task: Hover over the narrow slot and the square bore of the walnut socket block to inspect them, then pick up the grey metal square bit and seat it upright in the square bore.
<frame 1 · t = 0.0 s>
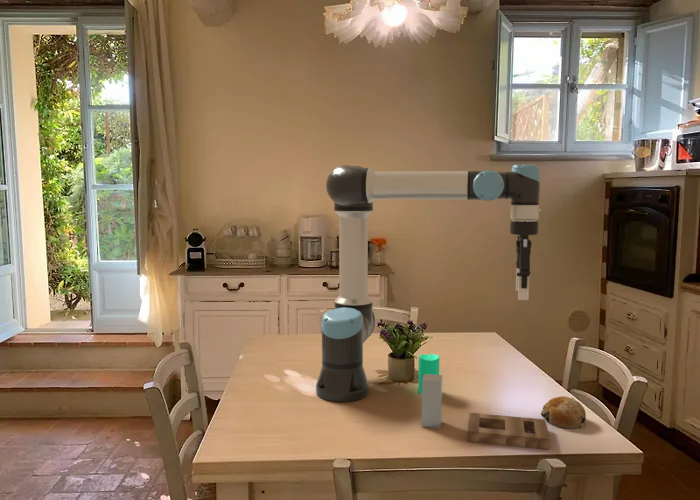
hand: (521, 295, 160), 28 cm above the table, fingers open, 13 cm apart
candle: (428, 392, 162), on the table
socket block: (507, 435, 134), on the table
square bit: (431, 424, 140), on the table
bread roll: (562, 422, 142), on the table
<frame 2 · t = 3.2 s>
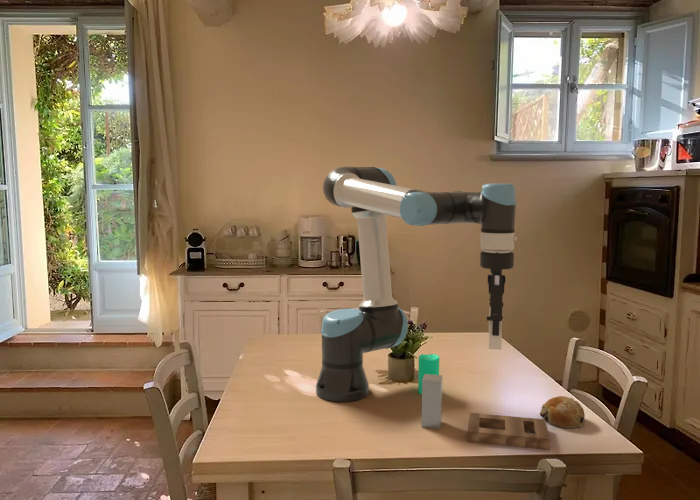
hand: (494, 340, 132), 23 cm above the table, fingers open, 13 cm apart
nothing on the table moved.
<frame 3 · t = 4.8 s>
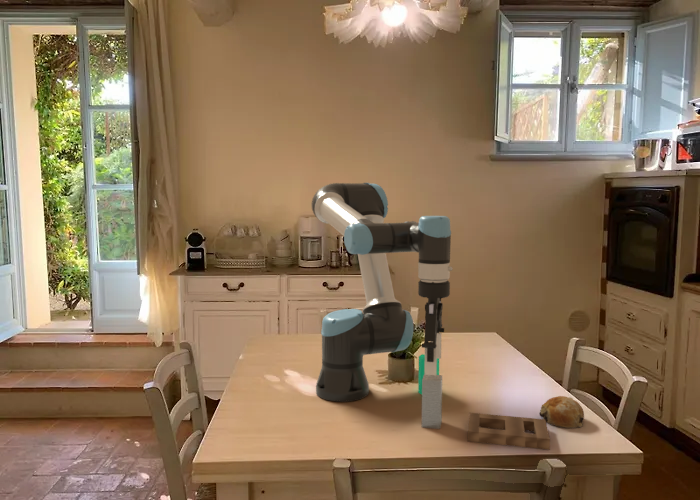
hand: (433, 365, 138), 15 cm above the table, fingers open, 13 cm apart
nothing on the table moved.
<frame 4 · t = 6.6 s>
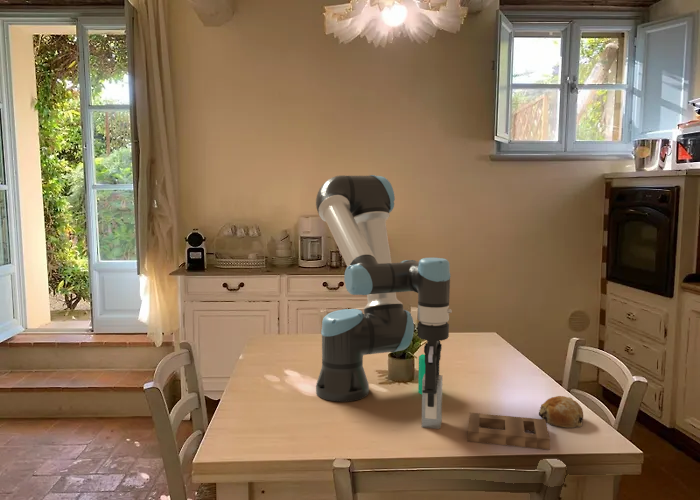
hand: (431, 413, 140), 3 cm above the table, fingers closed on square bit, 4 cm apart
square bit: (431, 424, 140), on the table, touching gripper
everything else where it was.
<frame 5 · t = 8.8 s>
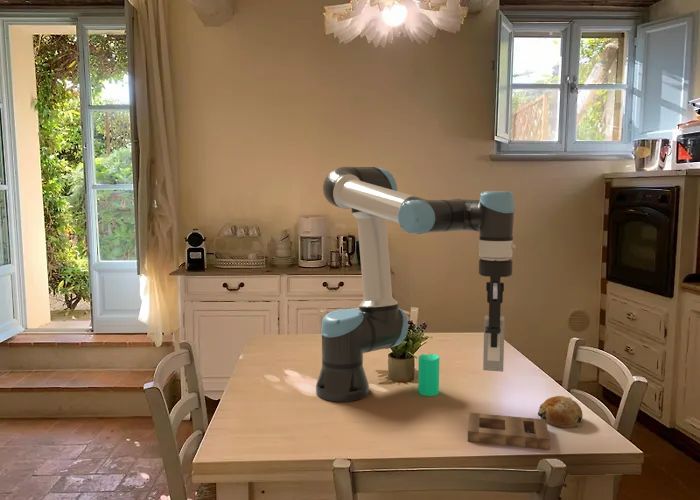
hand: (493, 356, 132), 19 cm above the table, fingers closed on square bit, 4 cm apart
square bit: (493, 367, 133), point 16 cm above the table, touching gripper
everything else where it was.
when the fingers open (4 cm above the table, at t = 11.2 s): square bit drops 2 cm, resting in socket block.
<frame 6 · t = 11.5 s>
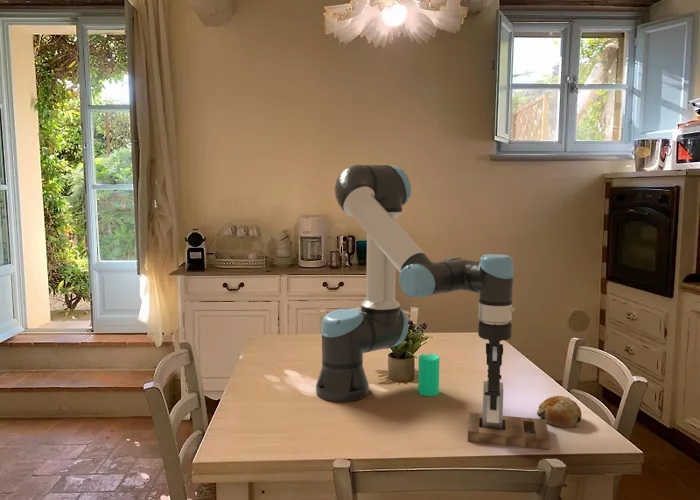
hand: (492, 413, 134), 5 cm above the table, fingers open, 9 cm apart
square bit: (491, 433, 135), resting in socket block
everything else where it was.
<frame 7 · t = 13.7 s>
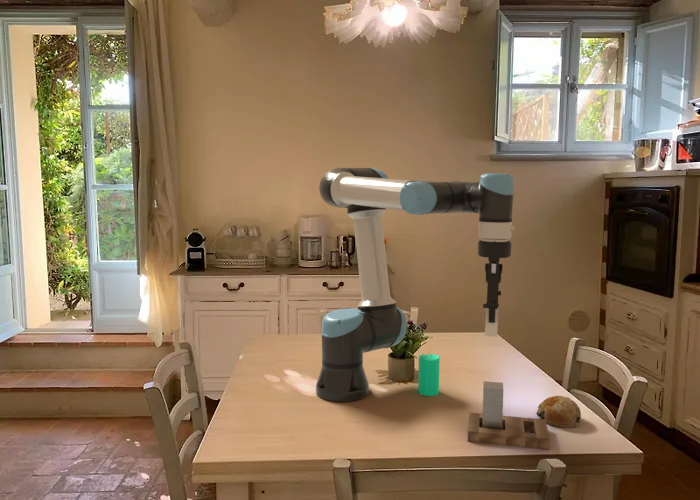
hand: (491, 328, 134), 25 cm above the table, fingers open, 13 cm apart
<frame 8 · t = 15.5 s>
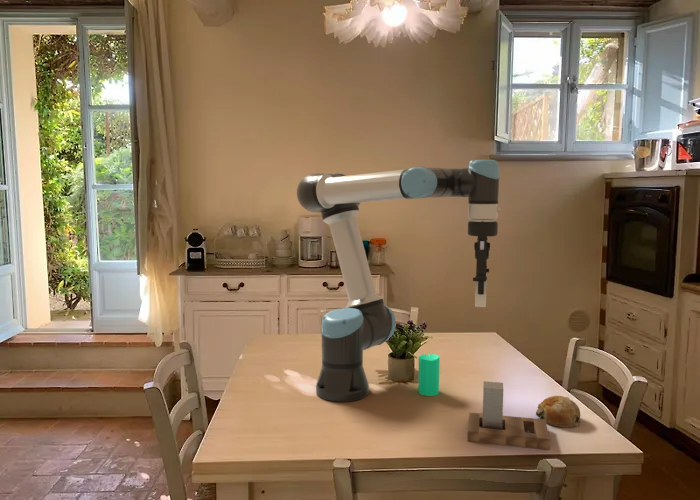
hand: (480, 301, 148), 29 cm above the table, fingers open, 13 cm apart
at the end: square bit 0.0 cm from the target spot on the socket block, point 0.0 cm above the socket block's base; square bit tilted 0°; the gripper is holding nothing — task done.
